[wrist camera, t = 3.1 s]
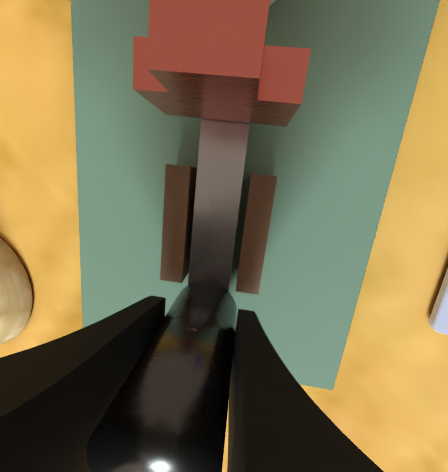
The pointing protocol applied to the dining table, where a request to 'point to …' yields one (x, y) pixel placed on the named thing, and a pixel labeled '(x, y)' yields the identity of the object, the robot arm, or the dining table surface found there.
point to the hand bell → (13, 294)
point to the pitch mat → (252, 166)
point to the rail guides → (181, 222)
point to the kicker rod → (199, 228)
